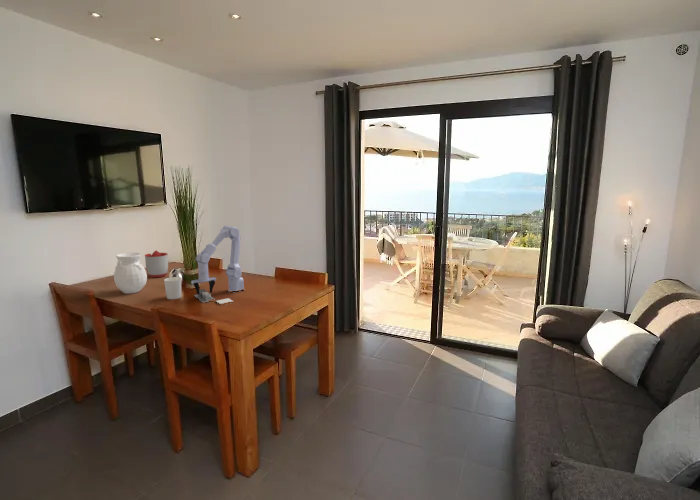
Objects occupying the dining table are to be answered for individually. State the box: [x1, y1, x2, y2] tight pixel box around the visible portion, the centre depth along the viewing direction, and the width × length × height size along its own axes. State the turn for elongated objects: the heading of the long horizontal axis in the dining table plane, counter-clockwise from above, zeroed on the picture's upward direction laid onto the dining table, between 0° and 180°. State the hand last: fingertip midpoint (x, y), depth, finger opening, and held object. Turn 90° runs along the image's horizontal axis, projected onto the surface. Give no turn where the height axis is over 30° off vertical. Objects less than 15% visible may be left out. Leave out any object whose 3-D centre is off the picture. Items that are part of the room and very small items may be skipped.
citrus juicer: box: [144, 250, 169, 279], centre depth 278 cm, size 16×17×20 cm
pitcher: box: [113, 252, 148, 295], centre depth 237 cm, size 19×18×25 cm
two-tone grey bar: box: [199, 288, 212, 301], centre depth 228 cm, size 3×14×4 cm, turn 38°
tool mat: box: [193, 294, 216, 304], centre depth 228 cm, size 8×18×1 cm, turn 39°
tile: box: [215, 297, 234, 305], centre depth 221 cm, size 8×2×7 cm
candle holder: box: [163, 276, 182, 300], centre depth 228 cm, size 10×10×12 cm
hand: (204, 293), depth 228 cm, fingers open, 7 cm apart
